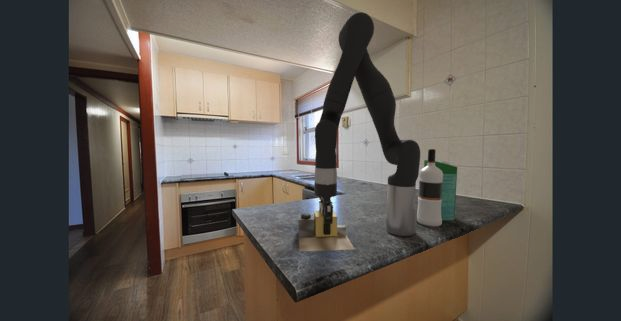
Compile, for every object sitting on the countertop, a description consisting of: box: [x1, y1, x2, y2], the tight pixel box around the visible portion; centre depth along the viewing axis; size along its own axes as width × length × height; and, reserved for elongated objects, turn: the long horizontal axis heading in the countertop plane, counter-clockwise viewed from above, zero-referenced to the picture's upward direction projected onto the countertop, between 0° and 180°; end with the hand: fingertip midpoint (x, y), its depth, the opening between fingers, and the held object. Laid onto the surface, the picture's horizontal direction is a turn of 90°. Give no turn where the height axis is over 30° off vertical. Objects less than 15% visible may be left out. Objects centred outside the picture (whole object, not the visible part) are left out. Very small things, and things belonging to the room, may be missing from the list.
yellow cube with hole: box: [313, 210, 338, 237], centre depth 70 cm, size 7×6×7 cm
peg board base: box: [297, 212, 356, 252], centre depth 67 cm, size 16×16×8 cm
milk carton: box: [423, 159, 458, 221], centre depth 91 cm, size 9×9×25 cm
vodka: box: [417, 148, 443, 228], centre depth 83 cm, size 9×9×30 cm
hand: (325, 229), depth 70 cm, fingers closed on yellow cube with hole, 6 cm apart
